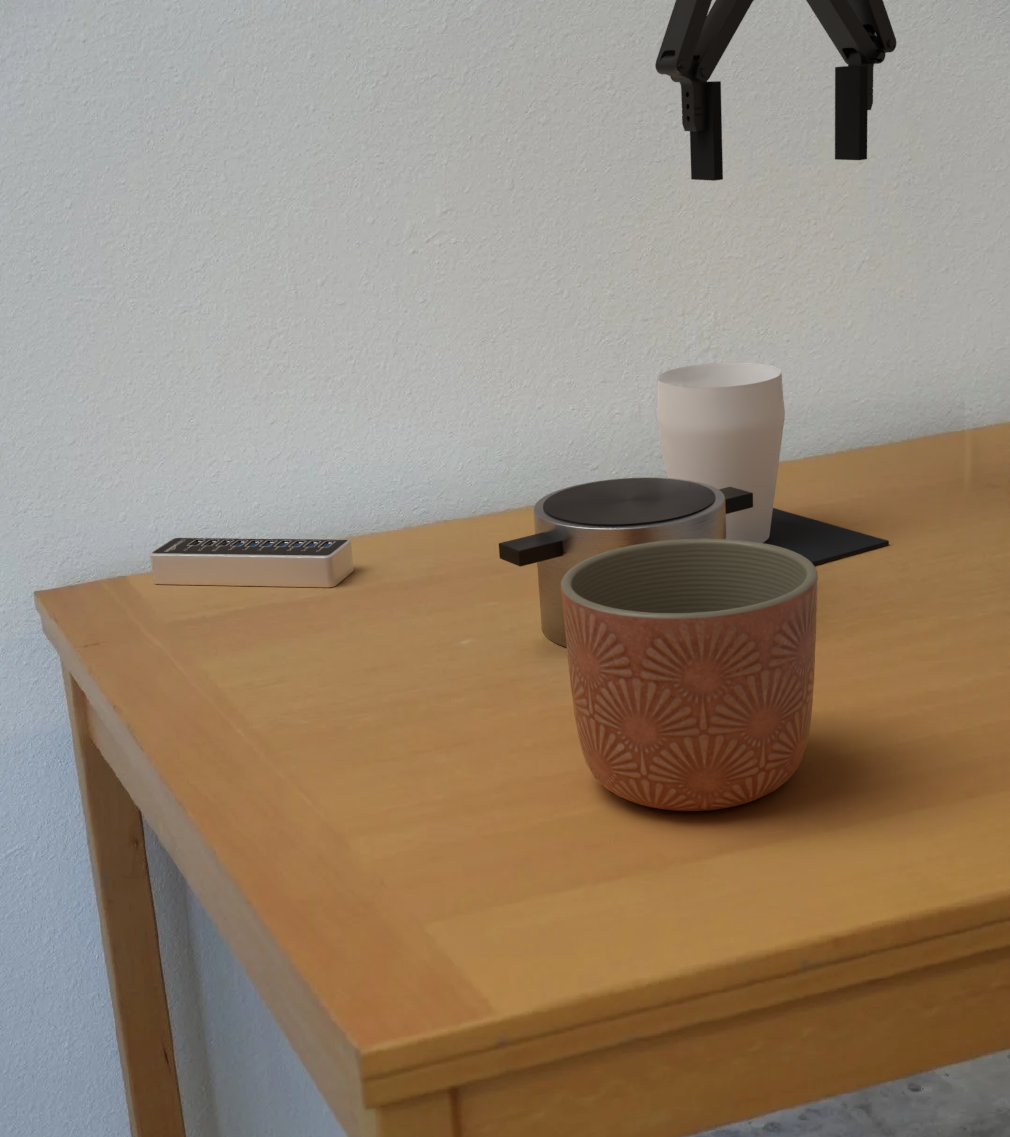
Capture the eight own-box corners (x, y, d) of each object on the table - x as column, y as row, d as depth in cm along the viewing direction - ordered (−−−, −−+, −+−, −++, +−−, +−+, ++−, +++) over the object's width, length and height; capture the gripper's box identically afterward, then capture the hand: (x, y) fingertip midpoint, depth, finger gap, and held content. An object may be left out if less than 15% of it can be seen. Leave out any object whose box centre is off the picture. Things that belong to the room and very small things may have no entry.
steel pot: (803, 612, 109) (802, 489, 106) (570, 681, 101) (561, 549, 98) (689, 572, 119) (685, 457, 116) (467, 632, 111) (457, 510, 107)
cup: (694, 518, 130) (688, 360, 125) (805, 527, 126) (804, 363, 121) (640, 551, 123) (632, 385, 118) (755, 562, 119) (752, 390, 114)
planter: (746, 852, 79) (741, 630, 75) (526, 802, 86) (510, 596, 82) (858, 755, 88) (860, 552, 84) (651, 717, 95) (643, 528, 91)
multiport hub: (333, 587, 122) (330, 556, 121) (151, 584, 126) (147, 554, 125) (355, 569, 126) (352, 538, 125) (178, 566, 130) (174, 536, 129)
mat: (889, 544, 121) (889, 540, 121) (734, 588, 115) (734, 583, 115) (762, 508, 132) (762, 504, 132) (615, 546, 126) (614, 542, 126)
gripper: (875, -155, 125) (872, 150, 134) (596, -147, 114) (611, 186, 122) (950, -168, 119) (942, 152, 128) (663, -161, 108) (674, 190, 116)
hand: (780, 170), depth 125 cm, fingers open, 13 cm apart
